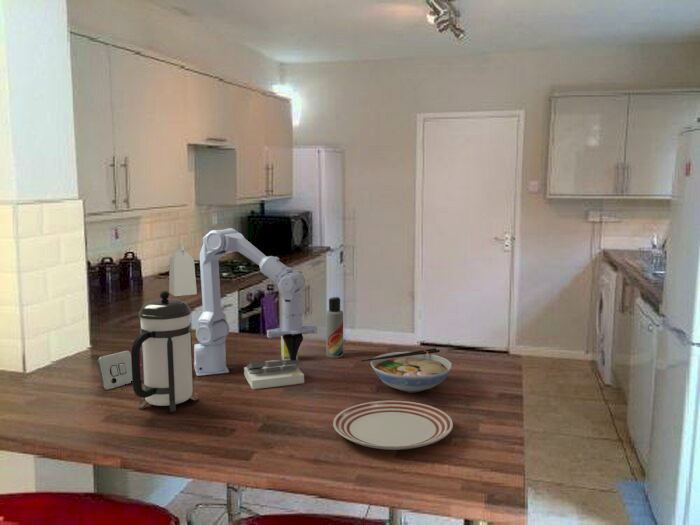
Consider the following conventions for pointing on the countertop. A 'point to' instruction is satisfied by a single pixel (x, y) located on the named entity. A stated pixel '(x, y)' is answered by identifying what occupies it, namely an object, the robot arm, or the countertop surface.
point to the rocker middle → (273, 363)
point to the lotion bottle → (334, 329)
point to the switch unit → (274, 376)
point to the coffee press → (164, 353)
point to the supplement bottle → (285, 350)
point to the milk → (182, 273)
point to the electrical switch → (115, 369)
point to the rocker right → (289, 362)
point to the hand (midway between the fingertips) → (292, 359)
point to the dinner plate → (393, 424)
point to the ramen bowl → (411, 369)
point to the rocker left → (256, 365)
